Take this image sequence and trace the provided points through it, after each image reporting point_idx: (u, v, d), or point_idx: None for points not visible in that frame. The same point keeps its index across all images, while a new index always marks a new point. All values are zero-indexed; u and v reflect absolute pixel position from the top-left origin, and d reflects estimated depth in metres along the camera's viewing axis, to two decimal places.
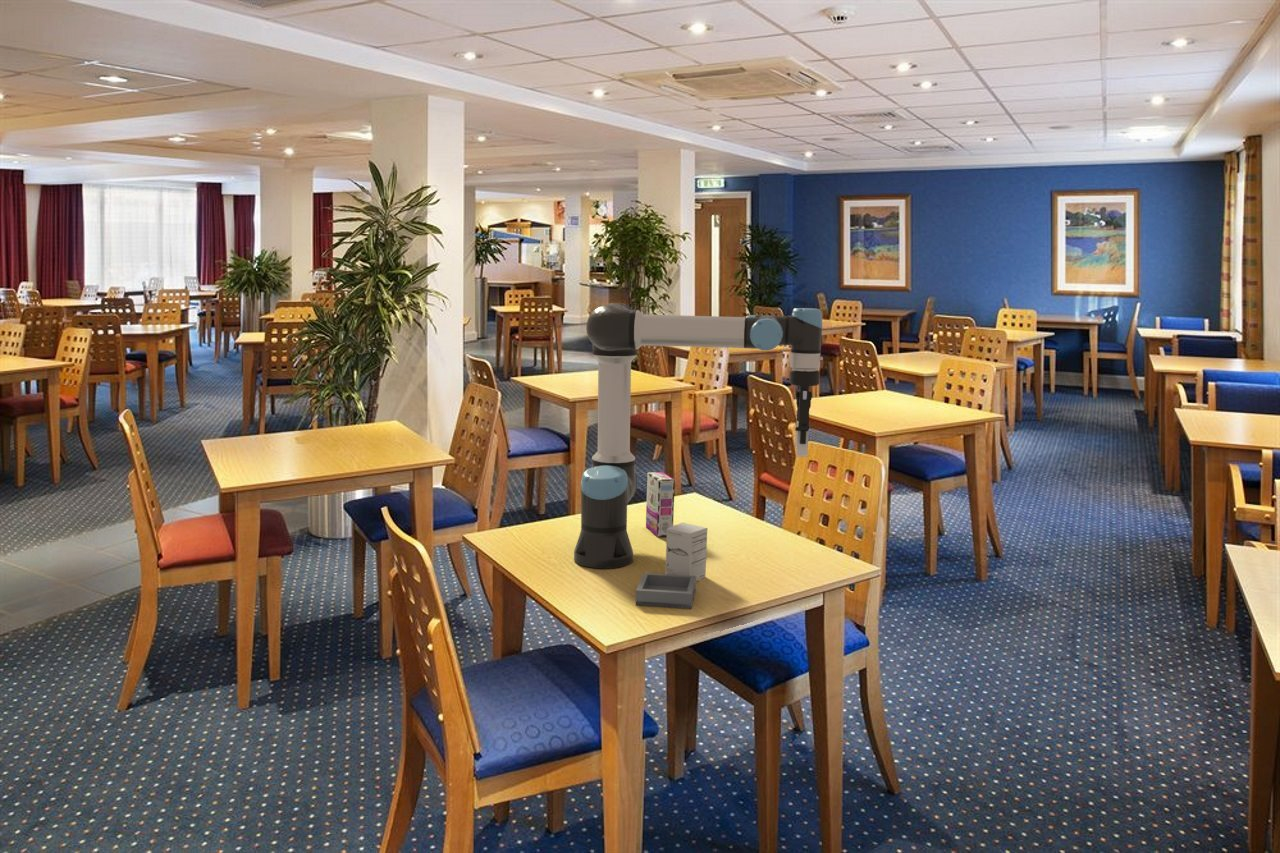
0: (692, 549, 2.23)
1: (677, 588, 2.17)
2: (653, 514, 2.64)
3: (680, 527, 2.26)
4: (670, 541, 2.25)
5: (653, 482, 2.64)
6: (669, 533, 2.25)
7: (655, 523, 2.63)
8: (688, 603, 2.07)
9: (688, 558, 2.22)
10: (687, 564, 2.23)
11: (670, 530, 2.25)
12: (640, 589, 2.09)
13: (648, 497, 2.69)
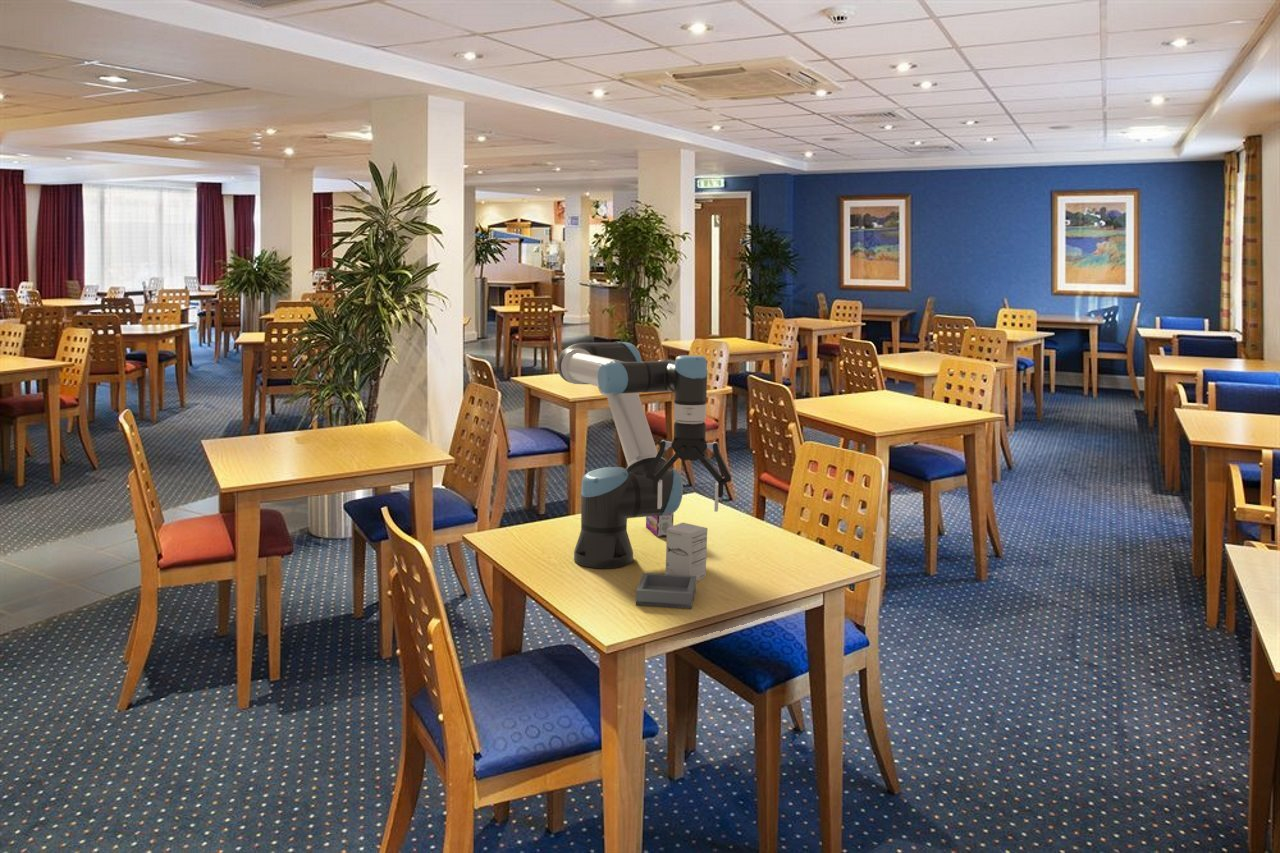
0: (692, 549, 2.23)
1: (677, 588, 2.17)
2: None
3: (680, 527, 2.26)
4: (670, 541, 2.25)
5: None
6: (669, 533, 2.25)
7: (655, 523, 2.63)
8: (688, 603, 2.07)
9: (688, 558, 2.22)
10: (687, 564, 2.23)
11: (670, 530, 2.25)
12: (640, 589, 2.09)
13: None
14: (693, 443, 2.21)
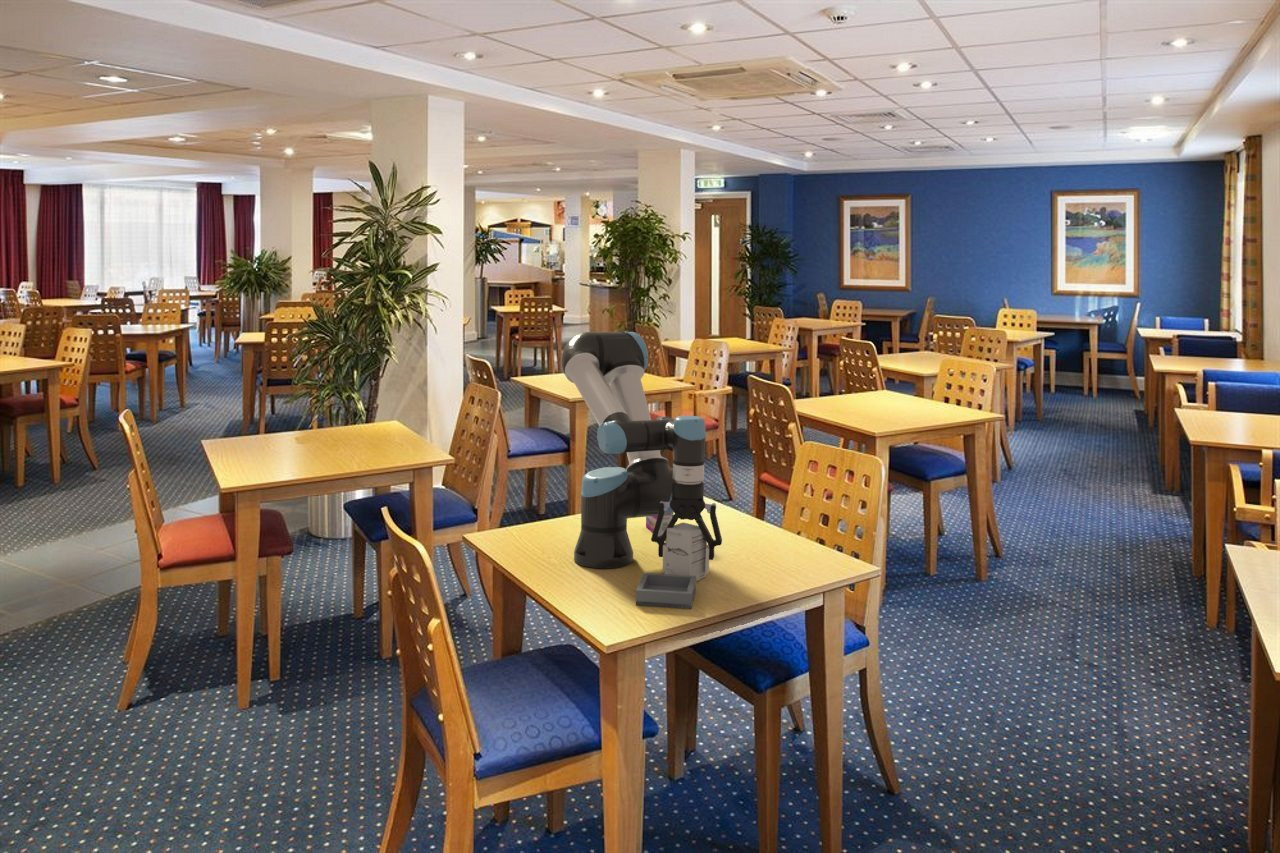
0: (692, 549, 2.23)
1: (677, 588, 2.17)
2: None
3: (680, 527, 2.26)
4: (670, 541, 2.25)
5: None
6: (669, 533, 2.25)
7: (655, 523, 2.63)
8: (688, 603, 2.07)
9: (688, 558, 2.22)
10: (687, 564, 2.23)
11: (670, 530, 2.25)
12: (640, 589, 2.09)
13: None
14: (692, 501, 2.24)
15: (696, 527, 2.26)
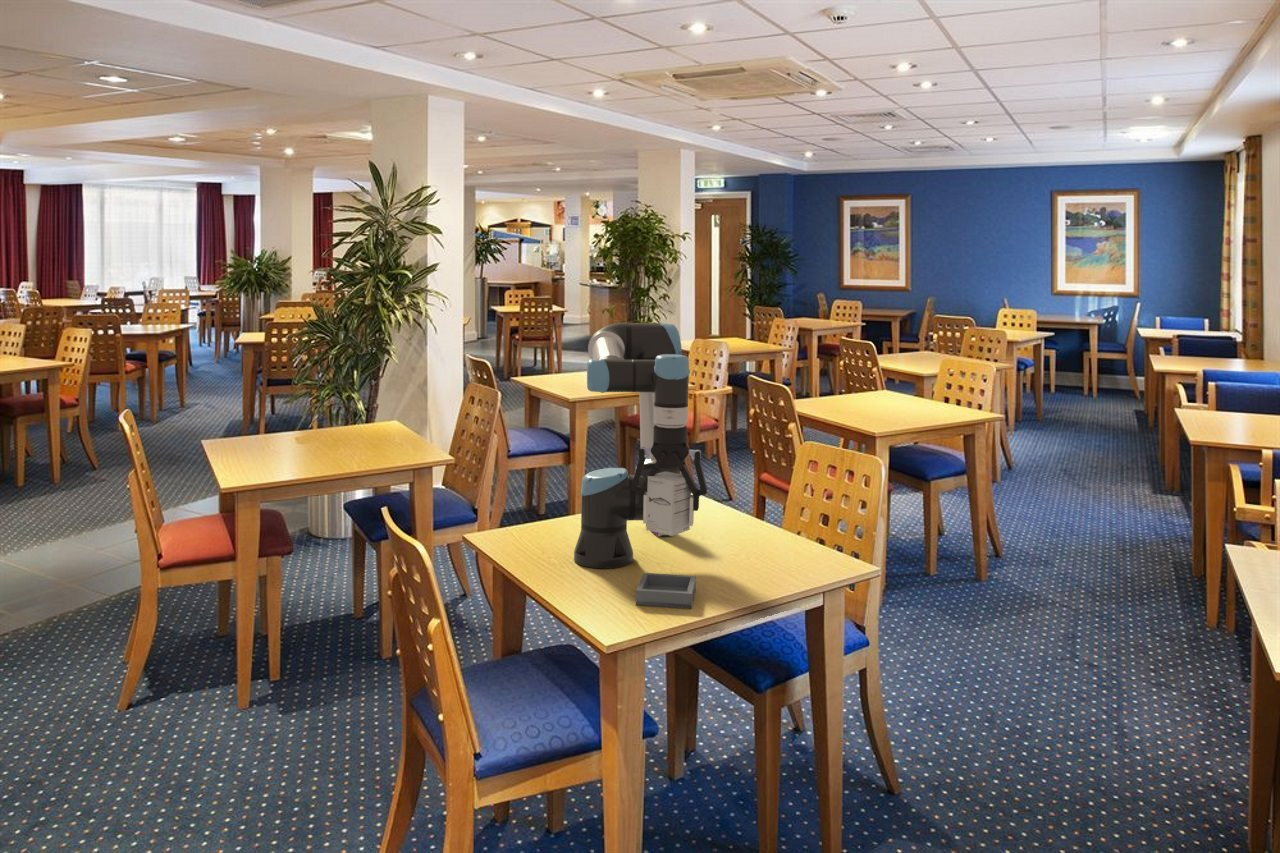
0: (675, 498, 2.06)
1: (677, 588, 2.17)
2: None
3: (662, 475, 2.09)
4: (651, 491, 2.08)
5: None
6: (650, 481, 2.08)
7: None
8: (688, 603, 2.07)
9: (670, 508, 2.06)
10: (669, 514, 2.06)
11: (651, 478, 2.08)
12: (640, 589, 2.09)
13: None
14: (675, 447, 2.07)
15: (679, 475, 2.09)
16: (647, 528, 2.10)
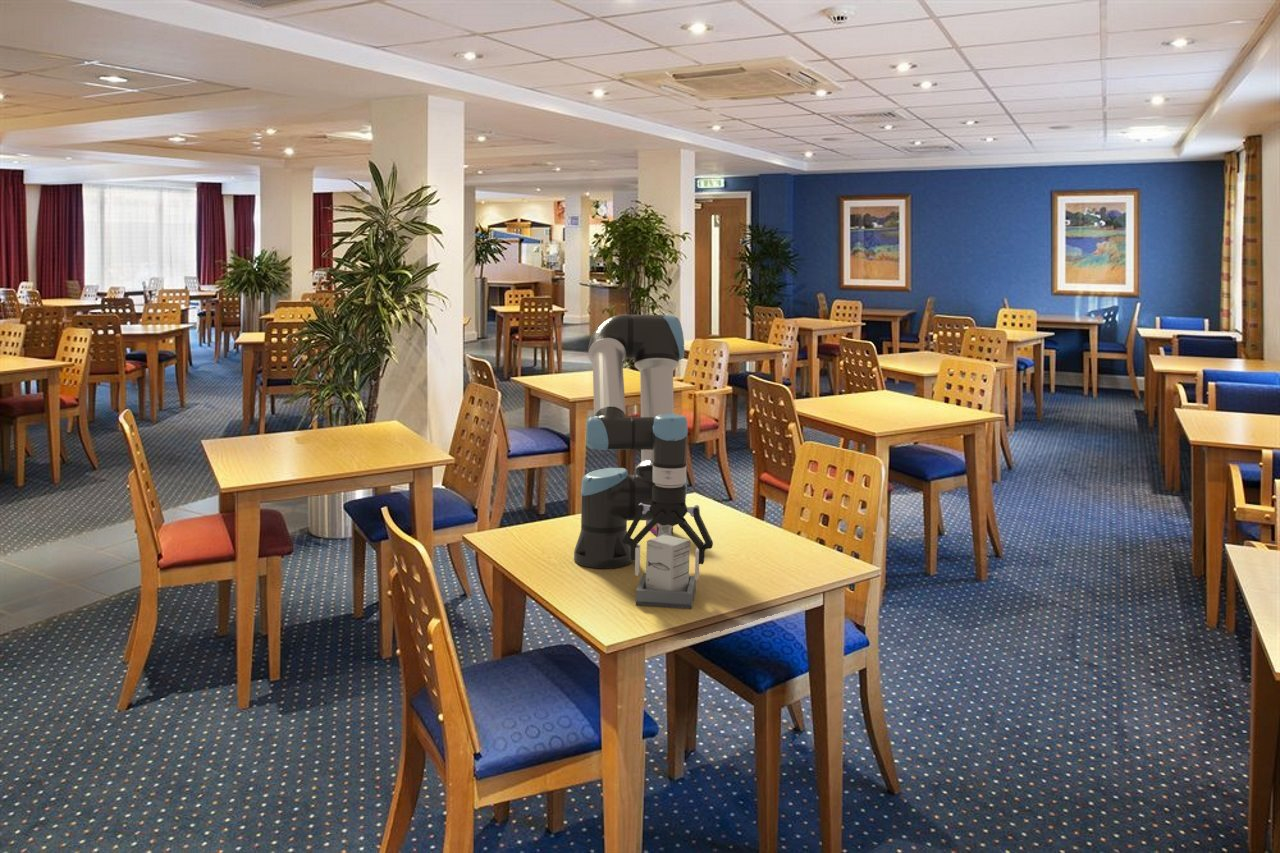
0: (674, 563, 2.08)
1: None
2: None
3: (661, 539, 2.12)
4: (650, 555, 2.10)
5: None
6: (649, 546, 2.10)
7: None
8: (688, 603, 2.07)
9: (669, 573, 2.08)
10: (669, 579, 2.08)
11: (650, 543, 2.10)
12: (640, 589, 2.09)
13: None
14: (672, 507, 2.09)
15: (678, 540, 2.12)
16: None
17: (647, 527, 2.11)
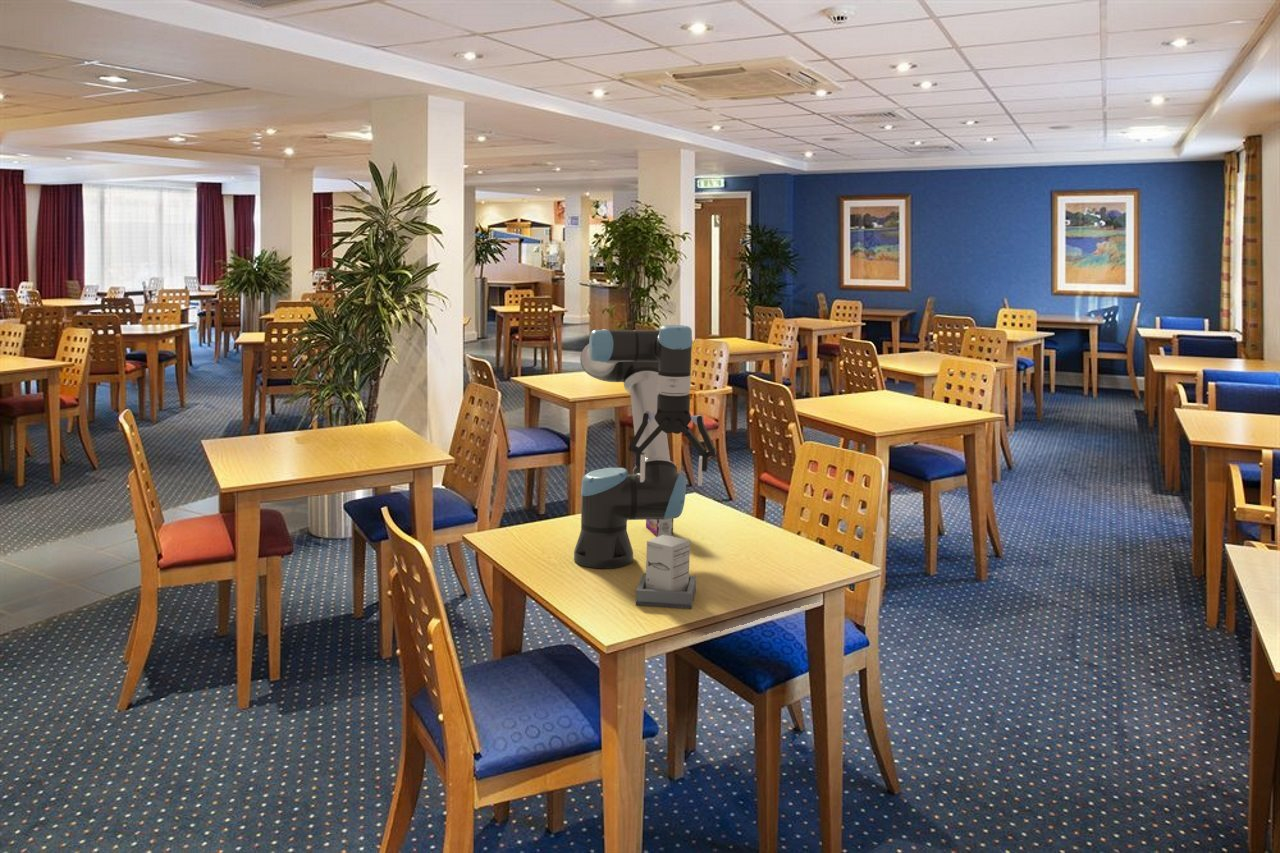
0: (674, 563, 2.08)
1: None
2: None
3: (661, 539, 2.12)
4: (650, 555, 2.10)
5: None
6: (649, 546, 2.10)
7: (655, 523, 2.63)
8: (688, 603, 2.07)
9: (669, 573, 2.08)
10: (669, 579, 2.08)
11: (650, 543, 2.10)
12: (640, 589, 2.09)
13: None
14: (677, 416, 2.16)
15: (678, 540, 2.12)
16: None
17: (652, 435, 2.17)
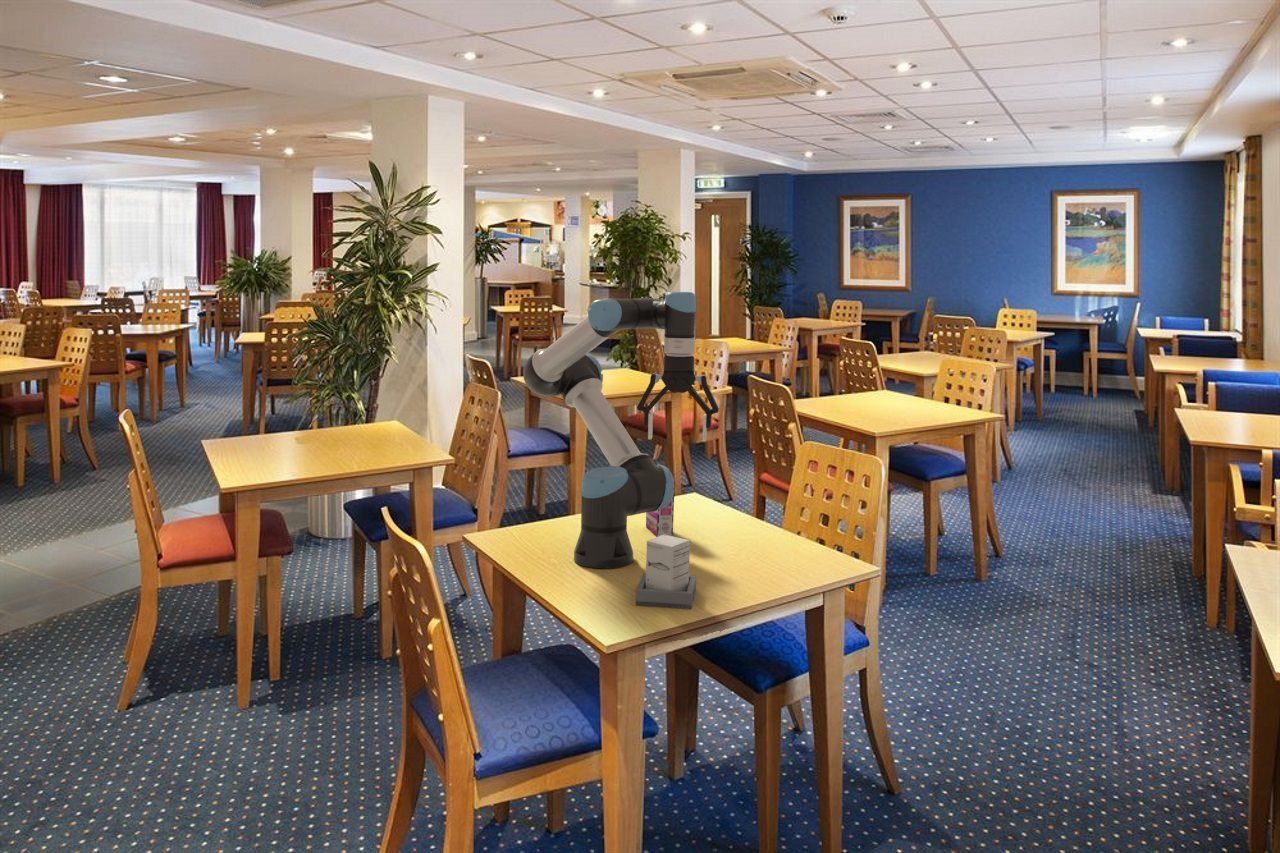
0: (674, 563, 2.08)
1: None
2: (653, 514, 2.64)
3: (661, 539, 2.12)
4: (650, 555, 2.10)
5: None
6: (649, 546, 2.10)
7: (655, 523, 2.63)
8: (688, 603, 2.07)
9: (669, 573, 2.08)
10: (669, 579, 2.08)
11: (650, 543, 2.10)
12: (640, 589, 2.09)
13: None
14: (682, 376, 2.31)
15: (678, 540, 2.12)
16: None
17: (659, 394, 2.33)
